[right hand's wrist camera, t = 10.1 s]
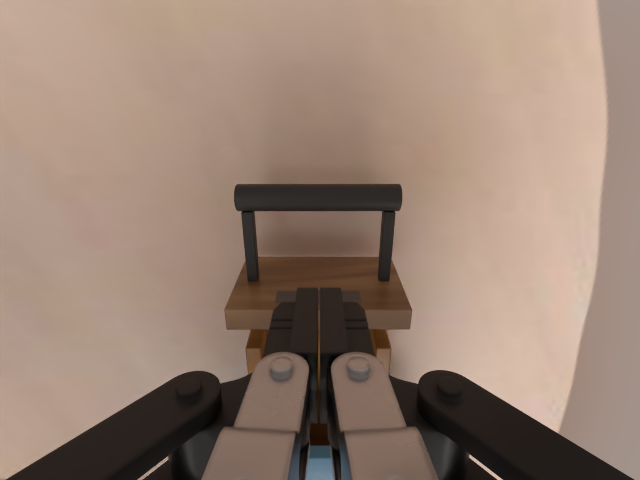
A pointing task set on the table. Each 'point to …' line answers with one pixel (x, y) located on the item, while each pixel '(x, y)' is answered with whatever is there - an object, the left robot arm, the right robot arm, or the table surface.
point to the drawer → (318, 269)
